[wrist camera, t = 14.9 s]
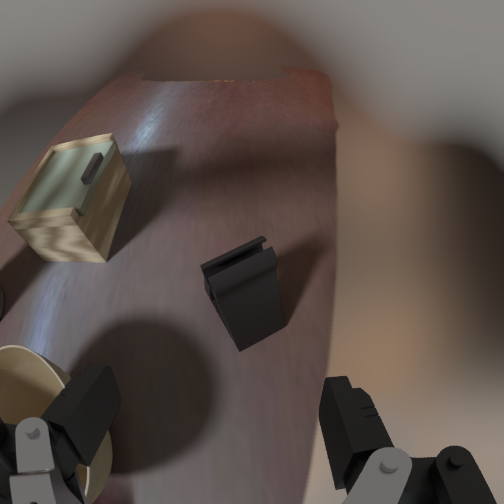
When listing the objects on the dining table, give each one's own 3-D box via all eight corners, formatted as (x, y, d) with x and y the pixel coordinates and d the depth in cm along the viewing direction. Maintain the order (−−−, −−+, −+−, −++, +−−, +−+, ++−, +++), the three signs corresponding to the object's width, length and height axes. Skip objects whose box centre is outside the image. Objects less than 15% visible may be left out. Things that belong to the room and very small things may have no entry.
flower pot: (56, 347, 30) (-3, 314, 20) (165, 414, 27) (117, 412, 17) (20, 446, 21) (-41, 439, 11) (120, 524, 18) (68, 554, 8)
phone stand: (205, 289, 35) (184, 233, 25) (247, 269, 37) (244, 207, 26) (239, 352, 31) (230, 320, 21) (284, 327, 32) (298, 284, 22)
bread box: (45, 261, 37) (5, 218, 28) (75, 188, 46) (50, 143, 36) (109, 262, 37) (71, 211, 27) (135, 182, 46) (114, 129, 36)
